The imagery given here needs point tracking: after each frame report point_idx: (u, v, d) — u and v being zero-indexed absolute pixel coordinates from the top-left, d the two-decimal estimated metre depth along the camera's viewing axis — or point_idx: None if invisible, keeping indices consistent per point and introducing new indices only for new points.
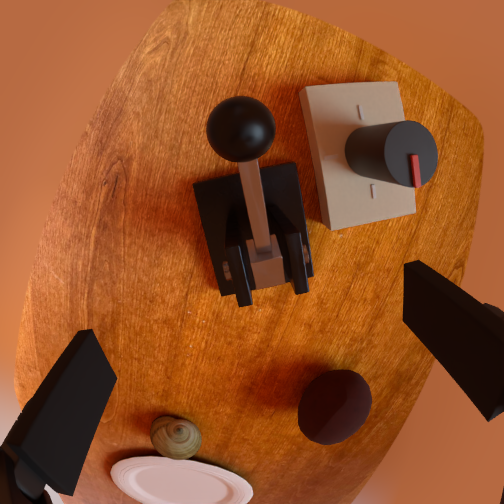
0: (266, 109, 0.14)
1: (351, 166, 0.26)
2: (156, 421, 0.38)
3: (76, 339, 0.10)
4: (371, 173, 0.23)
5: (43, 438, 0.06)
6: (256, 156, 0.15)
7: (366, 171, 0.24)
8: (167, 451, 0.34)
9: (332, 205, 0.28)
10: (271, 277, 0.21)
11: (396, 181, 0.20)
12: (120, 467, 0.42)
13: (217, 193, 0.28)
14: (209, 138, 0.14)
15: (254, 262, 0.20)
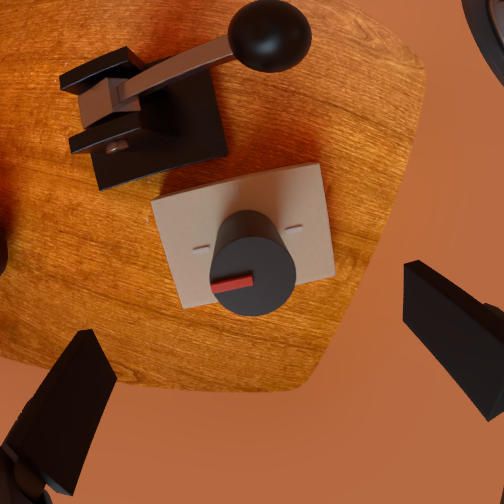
0: (296, 55, 0.10)
1: (227, 217, 0.24)
2: None
3: (76, 339, 0.10)
4: (221, 234, 0.20)
5: (43, 438, 0.06)
6: (235, 44, 0.10)
7: (223, 230, 0.21)
8: None
9: (179, 199, 0.24)
10: (90, 108, 0.14)
11: (214, 257, 0.17)
12: None
13: None
14: None
15: (107, 81, 0.13)
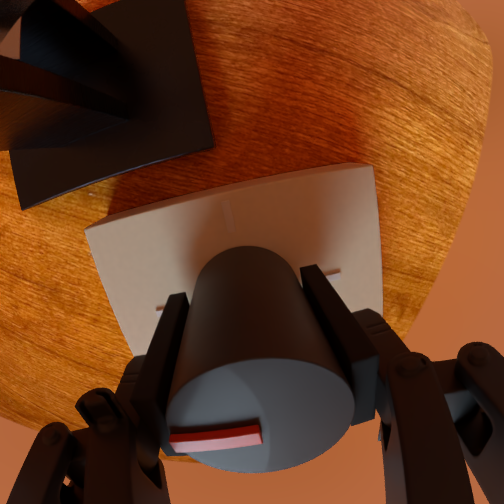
0: None
1: (212, 261, 0.13)
2: None
3: (171, 300, 0.12)
4: (195, 309, 0.10)
5: (168, 391, 0.08)
6: None
7: (200, 296, 0.11)
8: None
9: (129, 226, 0.13)
10: None
11: (172, 393, 0.07)
12: None
13: (158, 16, 0.11)
14: None
15: None
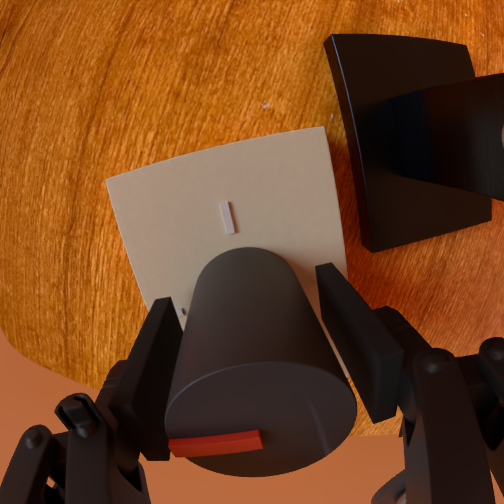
0: None
1: (212, 263, 0.13)
2: None
3: (155, 305, 0.12)
4: (195, 312, 0.10)
5: (147, 398, 0.08)
6: None
7: (200, 298, 0.10)
8: None
9: (325, 181, 0.13)
10: None
11: (171, 398, 0.06)
12: None
13: (472, 204, 0.15)
14: None
15: None
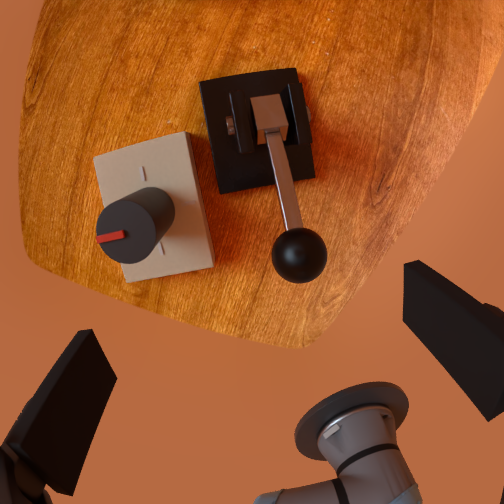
0: (281, 274, 0.19)
1: None
2: None
3: (76, 338, 0.10)
4: None
5: (43, 438, 0.06)
6: (291, 236, 0.18)
7: None
8: None
9: (184, 156, 0.28)
10: (266, 106, 0.19)
11: None
12: None
13: (293, 167, 0.30)
14: (326, 251, 0.19)
15: (284, 125, 0.19)
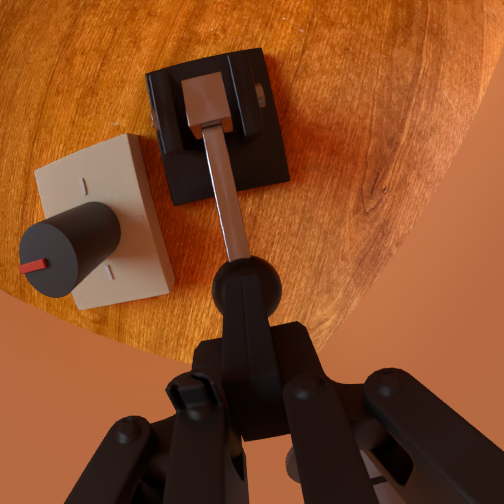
0: None
1: None
2: None
3: (229, 286, 0.13)
4: None
5: None
6: (232, 274, 0.14)
7: None
8: None
9: (127, 163, 0.22)
10: (201, 92, 0.14)
11: None
12: None
13: (261, 168, 0.24)
14: (280, 288, 0.15)
15: (225, 117, 0.14)
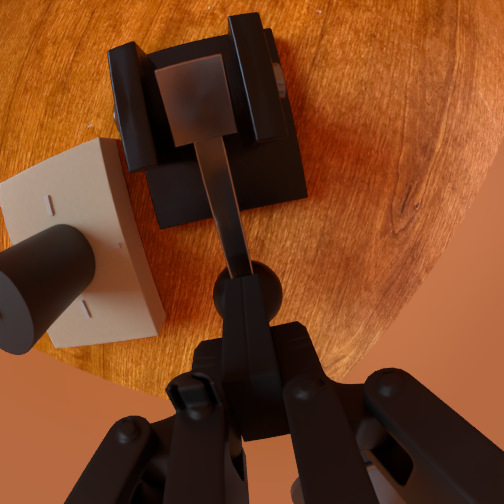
0: None
1: None
2: None
3: (229, 286, 0.13)
4: None
5: None
6: None
7: None
8: None
9: (100, 176, 0.17)
10: (190, 91, 0.08)
11: None
12: None
13: (272, 181, 0.19)
14: (281, 298, 0.15)
15: (229, 133, 0.10)
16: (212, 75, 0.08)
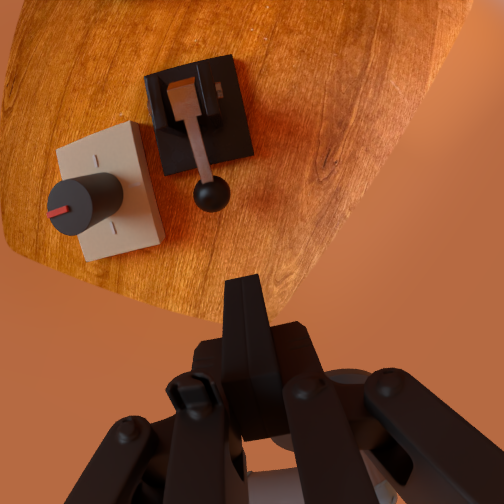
0: (200, 208, 0.29)
1: None
2: None
3: (229, 286, 0.13)
4: None
5: None
6: (204, 193, 0.27)
7: None
8: None
9: (130, 143, 0.29)
10: (181, 99, 0.21)
11: None
12: None
13: (231, 146, 0.31)
14: (229, 195, 0.29)
15: (198, 115, 0.22)
16: (190, 92, 0.20)
